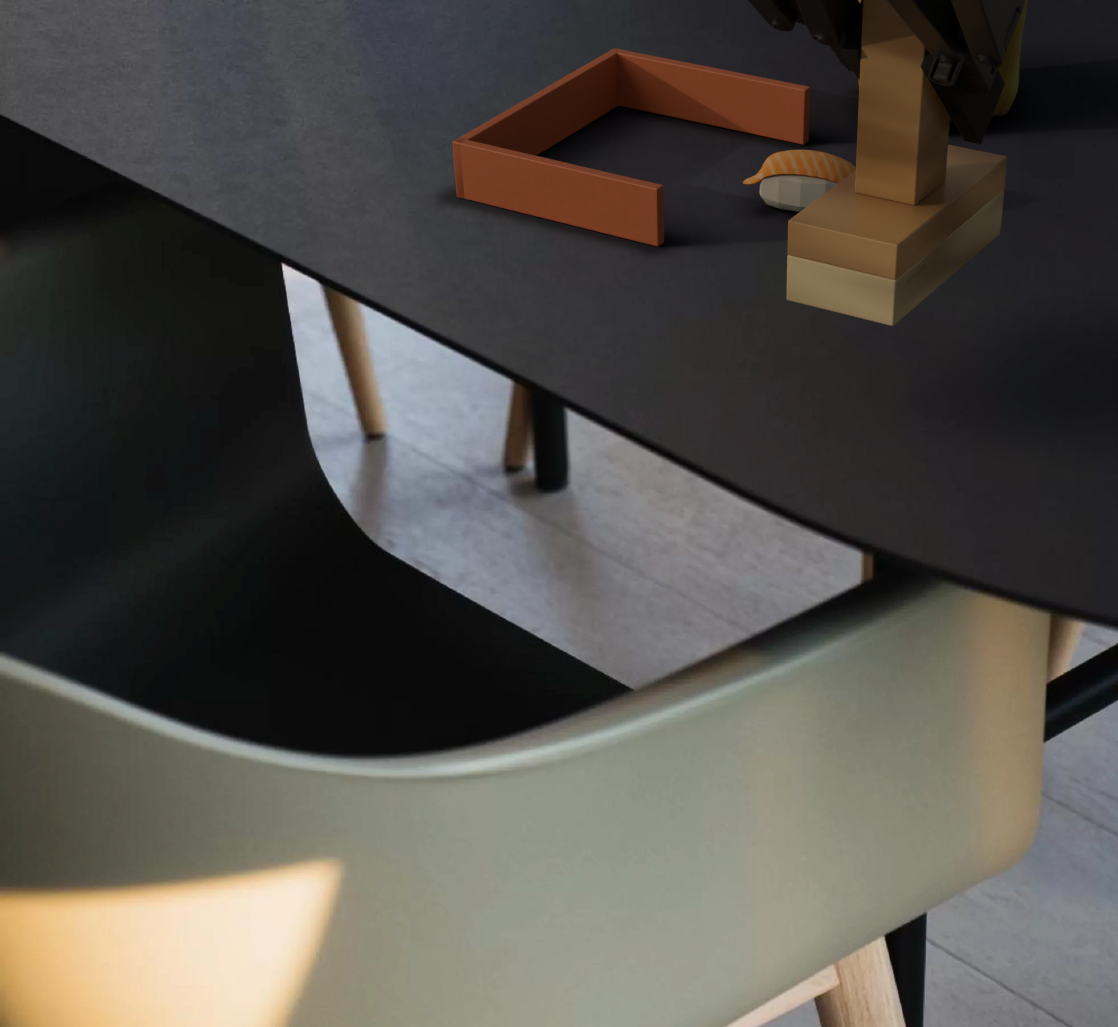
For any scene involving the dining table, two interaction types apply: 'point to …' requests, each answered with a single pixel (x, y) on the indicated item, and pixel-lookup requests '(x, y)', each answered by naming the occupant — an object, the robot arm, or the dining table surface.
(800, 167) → the sushi
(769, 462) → the dining table surface
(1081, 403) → the dining table surface
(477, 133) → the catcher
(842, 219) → the brown boxy piece
